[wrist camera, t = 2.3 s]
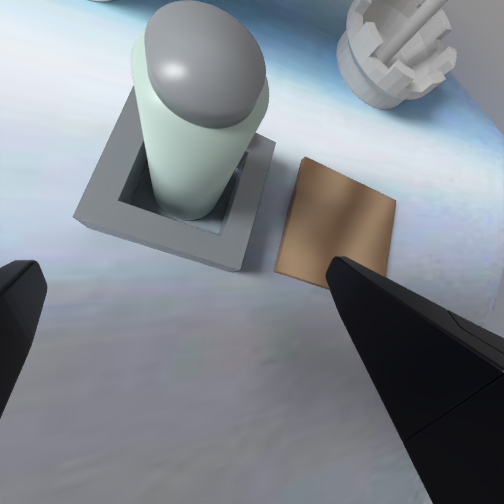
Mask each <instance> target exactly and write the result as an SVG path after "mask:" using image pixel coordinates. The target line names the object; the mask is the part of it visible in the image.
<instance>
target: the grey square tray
mask: <svg viewBox="0 0 504 504" xmlns="http://www.w3.org/2000/svg"><path fill="white" fill-rule="evenodd" d="M275 144H276V142H274V141H272V140H270V139H268V138H266V137H264V136H262V135H260V134H257V133H255V134H254V136H253V138H252V140H251V141H250V143H249V145H248V147H247V149H246V150H245V152H244V154H243V156H242V158H241V160H240V161H239V163H238V165H237V167H236V168H238V169H239V171H238V174H237V177H236V181H235V184H234V187H233V190H232V193H231V197H230V200H229V203H228V206H227V209H226V213H225V216H224V219H223V222H222V225H221V229H220V232H219V235H216V234H213V233H210V232H207V231H204V230H201V229H198V228H196V227H193V226H190V225H187V224H184V223H181V222H178V221H175V220H173V219H170V218H167V217H164V216H161V215H158V214H155V213H152V212H150V211H147V210H144V209H141V208H138V207H135V206H132V205H129V203H130V201H131V199H132V196H133V194H134V191H135V189H136V186H137V184H138V182H139V179H140V177H141V174H142V172H143V170H144V167H145V165H146V162H147V160H148V159H147V154H146V148H145V143H144V137H143V132H142V126H141V121H140V115H139V110H138V104H137V99H136V93H135V88H134V86H133V88H132V90H131V92H130V94H129V97H128V99H127V101H126V103H125V105H124V107H123V109H122V112H121V114H120V116H119V118H118V120H117V122H116V125H115V127H114V129H113V131H112V133H111V135H110V138H109V140H108V142H107V144H106V146H105V148H104V150H103V153H102V155H101V157H100V159H99V161H98V163H97V166H96V168H95V170H94V172H93V174H92V176H91V179H90V181H89V183H88V185H87V187H86V189H85V191H84V194H83V196H82V198H81V200H80V202H79V204H78V207H77V209H76V211H75V213H74V215H73V218H75V219H76V220H78V221H79V222H80V223H82V224H83V225H85V226H86V227H87V228H90V229H93V230H97V231H100V232H103V233H106V234H109V235H113V236H116V237H119V238H122V239H126V240H129V241H132V242H135V243H138V244H142V245H145V246H148V247H151V248H154V249H158V250H161V251H164V252H167V253H171V254H174V255H177V256H180V257H183V258H187V259H190V260H193V261H196V262H199V263H203V264H206V265H209V266H212V267H216V268H219V269H222V270H225V271H228V272H234V271H238V270H240V269H241V265H242V261H243V258H244V254H245V251H246V247H247V244H248V240H249V237H250V233H251V230H252V226H253V222H254V219H255V215H256V212H257V208H258V205H259V201H260V198H261V194H262V191H263V187H264V183H265V180H266V176H267V173H268V169H269V166H270V162H271V159H272V155H273V152H274V148H275Z"/></svg>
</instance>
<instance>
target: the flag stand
mask: <svg viewBox="0 0 504 504" xmlns="http://www.w3.org/2000/svg"><path fill="white" fill-rule="evenodd" d="M447 1H448V0H426V1H425V2H424V3H423V5H421V4H420V3H421V2H422V0H354V1H353V3H352V4H351V6H350V9H349V11H348V14H347V21H346V25H347V29H346V30H345V32H344V33H343V35H342V36H341V38H340V40H339V42H338V45H337V51H336V54H337V63H338V67H339V70H340V73H341V75H342V77H343V79H344V81H345V83H346V84H347V86H348V87H349V88H350V90H351V91H352V92H353V93H354V94H355V95H356V96H357V97H358V98H359V99H360V100H362V101H363V102H364V103H366V104H368V105H370V106H372V107H374V108H378V109H386V110H387V109H392V108H394V107H396V106H398V105H399V104H400V103H401V102H403V101H404V100H405V99H407V100H413V99H418V98H421V97H422V96H424V95H426V94H427V93H428V92H430V91H431V90H432V89H434V88H435V87H436V86H438V85H439V84H440V83H442V82H443V81H444V80H446V78H445V77H444V75H445V74H446V73H447V72H449V71H450V70H451V69H453V68H454V66H455V62H456V50H455V49H454V48H452V47H450V46H449V47H448V48H447V49H446V50H444V46H443V42H442V39H443V38H444V37H445V36H446V35H447V34H448V33H449V32H450V31H451V30H452V28H451V26H450V23H449V21H448V19H447V17H446V15H445V13H444V11H443V10H440V11H439V12H437V11H438V10H439V9H440V8H441V7H442V6H443V5H444V4H445V3H446V2H447ZM436 12H437V13H436ZM435 13H436V14H435ZM434 14H435V16H433V15H434ZM432 16H433V18H431V17H432Z"/></svg>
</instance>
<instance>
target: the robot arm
mask: <svg viewBox="0 0 504 504" xmlns="http://www.w3.org/2000/svg"><path fill="white" fill-rule="evenodd" d="M325 277H326V281H327V284H328V286H329V289H330V291H331V294H332V297H333V299H334V302H335V305H336V307H337V310H338V312H339V315H340V317H341V319H342V321H343V323H344V325H345V327H346V329H347V331H348V333H349V335H350V337H351V339H352V341H353V343H354V345H355V347H356V349H357V351H358V353H359V355H360V357H361V359H362V361H363V363H364V365H365V367H366V369H367V371H368V373H369V375H370V377H371V379H372V381H373V383H374V385H375V387H376V389H377V391H378V394H379V396H380V398H381V400H382V402H383V404H384V406H385V408H386V410H387V412H388V414H389V416H390V418H391V420H392V422H393V424H394V426H395V428H396V430H397V432H398V434H399V436H400V438H401V440H402V441H403V444H404V446H405V448H406V450H407V452H408V454H409V456H410V458H411V460H412V462H413V464H414V467H415V469H416V471H417V473H418V475H419V477H420V479H421V481H422V483H423V485H424V487H425V489H426V491H427V493H428V495H429V497H430V499H431V501H432V503H433V504H504V338H502V337H500V336H498V335H496V334H494V333H492V332H490V331H488V330H486V329H484V328H482V327H480V326H478V325H476V324H474V323H472V322H470V321H468V320H466V319H464V318H462V317H460V316H458V315H457V314H455V313H453V312H451V311H449V310H446V309H445V308H443V307H441V306H439V305H437V304H435V303H434V302H432V301H430V300H428V299H426V298H424V297H422V296H420V295H418V294H416V293H415V292H413V291H411V290H409V289H407V288H405V287H403V286H401V285H399V284H397V283H396V282H394V281H392V280H390V279H388V278H386V277H384V276H382V275H380V274H378V273H376V272H375V271H373V270H371V269H369V268H367V267H365V266H363V265H361V264H359V263H357V262H356V261H354V260H352V259H350V258H348V257H346V256H335V257H333V259H332V260H331V262H330V265H329V267H328V269H327V271H326V274H325ZM46 293H47V283H46V280H45V278H44V275H43V273H42V270H41V268H40V265H39V263H38V262H37V261H35V260H15V261H13V262H11V263H9V264H7V265H5V266H3V267H1V268H0V418H1V416H2V413H3V411H4V409H5V406H6V404H7V402H8V399H9V397H10V395H11V393H12V390H13V388H14V386H15V383H16V381H17V379H18V376H19V374H20V372H21V369H22V367H23V365H24V362H25V360H26V358H27V355H28V353H29V350H30V348H31V345H32V342H33V339H34V336H35V332H36V329H37V325H38V322H39V318H40V315H41V311H42V308H43V304H44V300H45V297H46Z"/></svg>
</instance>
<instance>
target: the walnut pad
mask: <svg viewBox="0 0 504 504" xmlns="http://www.w3.org/2000/svg"><path fill="white" fill-rule="evenodd" d="M395 206H396V200H394V199H392V198H390V197H388V196H386V195H384V194H382V193H380V192H378V191H376V190H374V189H372V188H370V187H367V186H365V185H363V184H361V183H359V182H357V181H355V180H353V179H351V178H349V177H347V176H345V175H343V174H341V173H339V172H336V171H334V170H332V169H330V168H328V167H326V166H324V165H322V164H320V163H318V162H316V161H314V160H312V159H310V158H307V157H304V158H303V159H302V160H301V164H300V168H299V172H298V176H297V180H296V184H295V188H294V192H293V196H292V200H291V204H290V208H289V212H288V216H287V220H286V224H285V228H284V232H283V236H282V240H281V244H280V248H279V252H278V256H277V260H276V264H275V268H274V272H277V273H280V274H283V275H286V276H289V277H292V278H295V279H298V280H301V281H304V282H307V283H310V284H313V285H316V286H319V287H323V288H326V289H329V286H328V284H327V281H326V277H325V274H326V271H327V269H328V267H329V265H330V262H331V260H332V259H333V257H335V256H346V257H348V258H350V259H352V260H354V261H356V262H357V263H359V264H361V265H363V266H365V267H367V268H369V269H371V270H373V271H375V272H376V273H378V274H380V275H382V276H384V277H385V275H386V268H387V261H388V254H389V247H390V240H391V233H392V227H393V220H394V213H395ZM329 290H330V289H329Z"/></svg>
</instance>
